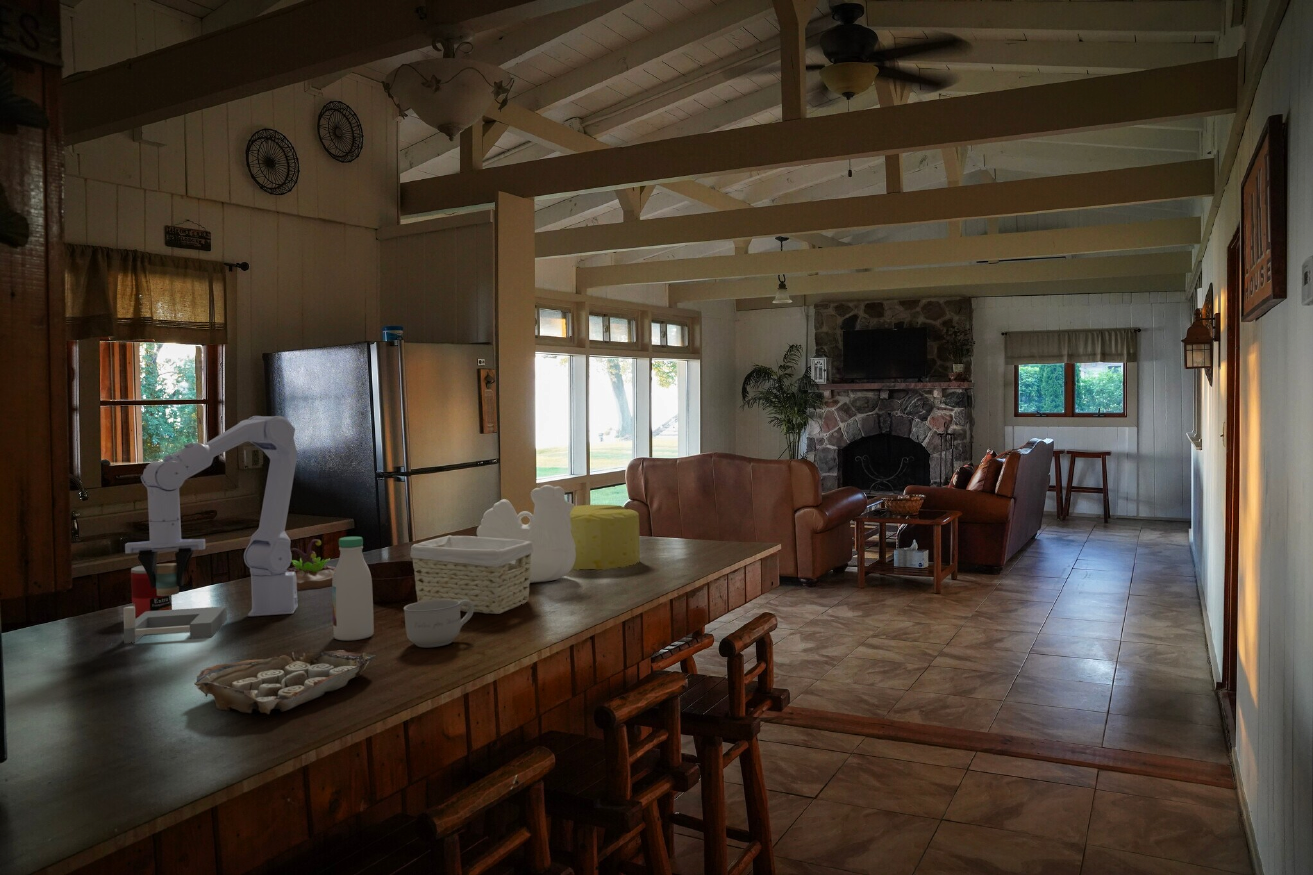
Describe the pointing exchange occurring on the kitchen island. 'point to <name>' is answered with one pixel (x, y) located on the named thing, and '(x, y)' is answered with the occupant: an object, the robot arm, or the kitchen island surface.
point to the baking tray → (279, 680)
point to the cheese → (605, 536)
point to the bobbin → (166, 579)
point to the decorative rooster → (537, 531)
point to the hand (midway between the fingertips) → (167, 586)
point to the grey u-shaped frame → (173, 622)
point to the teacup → (435, 621)
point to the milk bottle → (352, 593)
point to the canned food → (146, 594)
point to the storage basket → (473, 571)
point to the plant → (312, 569)
